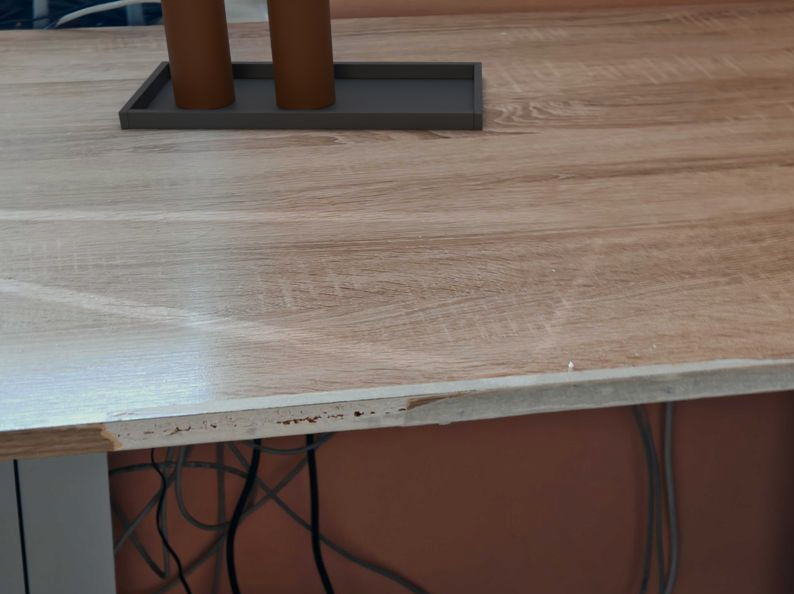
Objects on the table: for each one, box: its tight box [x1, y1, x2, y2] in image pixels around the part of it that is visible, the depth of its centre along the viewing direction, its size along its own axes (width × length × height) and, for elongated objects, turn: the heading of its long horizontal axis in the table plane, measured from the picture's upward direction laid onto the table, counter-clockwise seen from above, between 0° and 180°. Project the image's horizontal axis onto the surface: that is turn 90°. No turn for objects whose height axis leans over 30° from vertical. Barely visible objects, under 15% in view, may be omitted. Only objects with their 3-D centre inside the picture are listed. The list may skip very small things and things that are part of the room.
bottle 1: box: [160, 0, 235, 110], centre depth 77 cm, size 4×4×13 cm
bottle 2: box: [266, 0, 336, 110], centre depth 77 cm, size 4×4×13 cm
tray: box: [117, 60, 484, 131], centre depth 80 cm, size 25×12×2 cm, turn 90°
